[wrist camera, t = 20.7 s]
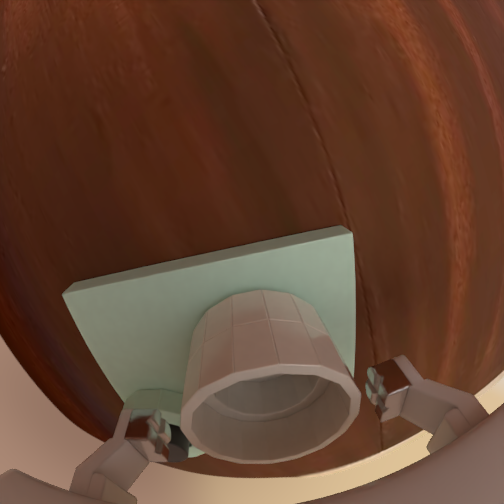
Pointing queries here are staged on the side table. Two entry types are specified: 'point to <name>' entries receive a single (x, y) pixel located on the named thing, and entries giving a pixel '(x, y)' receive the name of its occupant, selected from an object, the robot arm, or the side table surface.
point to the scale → (205, 308)
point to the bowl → (265, 381)
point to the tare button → (177, 445)
